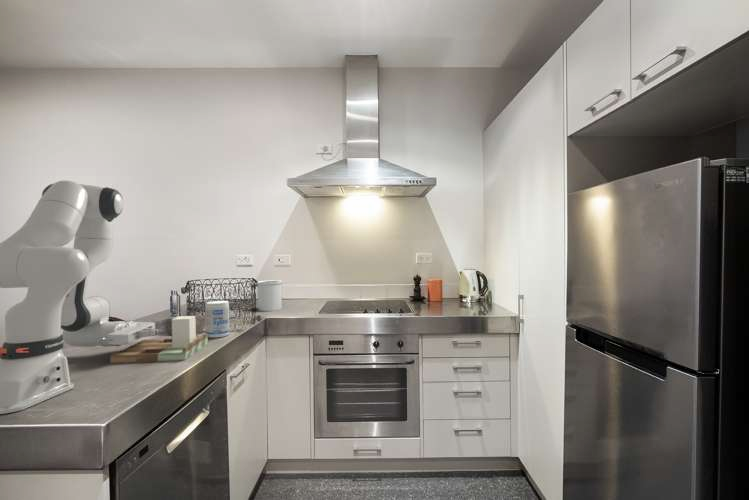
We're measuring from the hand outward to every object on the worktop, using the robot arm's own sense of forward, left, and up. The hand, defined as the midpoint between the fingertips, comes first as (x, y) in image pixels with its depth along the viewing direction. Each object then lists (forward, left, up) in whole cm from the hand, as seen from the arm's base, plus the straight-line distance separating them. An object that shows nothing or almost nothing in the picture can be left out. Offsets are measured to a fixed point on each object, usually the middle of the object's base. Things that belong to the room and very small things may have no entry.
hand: (156, 332), depth 135 cm
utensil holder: (+91, -25, -8) cm, 95 cm away
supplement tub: (+24, -14, -8) cm, 29 cm away
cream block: (0, -10, -5) cm, 11 cm away
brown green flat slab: (0, -2, -8) cm, 8 cm away
